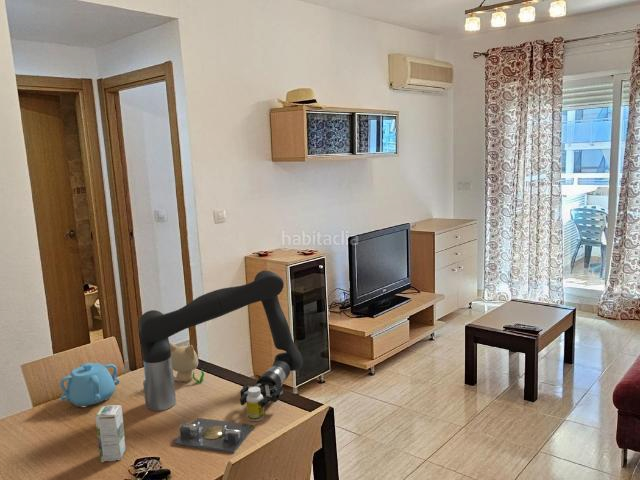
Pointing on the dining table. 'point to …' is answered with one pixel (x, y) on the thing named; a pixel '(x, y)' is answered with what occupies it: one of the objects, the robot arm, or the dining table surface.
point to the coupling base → (213, 435)
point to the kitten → (184, 363)
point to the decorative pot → (89, 384)
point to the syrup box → (110, 433)
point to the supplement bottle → (254, 404)
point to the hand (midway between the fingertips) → (251, 403)
